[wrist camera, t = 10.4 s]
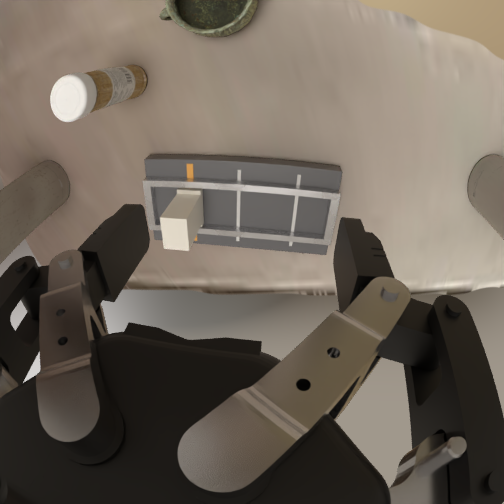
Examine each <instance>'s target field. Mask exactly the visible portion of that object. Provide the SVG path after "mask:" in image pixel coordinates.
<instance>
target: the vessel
mask: <svg viewBox="0 0 504 504" xmlns="http://www.w3.org/2000/svg"><path fill="white" fill-rule="evenodd" d="M257 3H258V0H166V8H165V9H163V10H162V12H161V14H160V16H159V17H160V18H161V19H162V20H173V21H174V22H175V23H176V24H178V25H180V26H181V27H183V28H184V29H186V30H188V31H191V32H194V33H196V34H199V35H203V36H207V37H221V36H228V35H230V34H232V33H234V32H236V31H239V30H241V29H242V28H243V27H244V26H245V25H246V24H247V23H248V22H249V21H250V20H251V18H252V16H253V14H254V12H255V10H256V9H257Z"/></svg>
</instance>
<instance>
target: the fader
mask: <svg viewBox="0 0 504 504" xmlns="http://www.w3.org/2000/svg"><path fill="white" fill-rule="evenodd" d="M160 223H161V230H162V238H163V244H164V249H174V250H184V251H190V248H191V246H192V244H193V242H194V240H195V238H196V235H197V233H198V231H199V229H200V227H202V226H203V224H204V213H203V189H200V188H178V189H177V194H176V196H175V197H174V198H173V200H172V201H171V203H170V204H169V205H168V207H167V208H166V210H165V211H164V212H163V214H162V215H161V217H160Z"/></svg>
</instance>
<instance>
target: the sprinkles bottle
mask: <svg viewBox="0 0 504 504" xmlns="http://www.w3.org/2000/svg"><path fill="white" fill-rule="evenodd" d="M146 84H147V77H146V74H145V72H144V71H143V69H141V68H140V67H138V66H135V65H129V66H126V67H114V68H107V69H100V70H96V71H92V72H87V73H81V72H78V73H73V74H69V75H65V76H63V77H61V78H60V79H59V80H58V81H57V82H56V83H55V85H54V87H53V89H52V92H51V97H50V102H51V108H52V110H53V112H54V114H55V116H56V117H57V118H58V119H60V120H62V121H64V122H72V121H75V120H78V119H80V118H83V117H85V116H86V115H88V114H89V113H91V112H93V111H95V110H99V109H102V108H105V107H108V106H110V105H113V104H116V103H119V102H122V101H125V100H127V99H132V98H135V97H138V96H139V95H140V94H142V92H143V91H144V89H145V87H146Z"/></svg>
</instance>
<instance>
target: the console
mask: <svg viewBox="0 0 504 504" xmlns="http://www.w3.org/2000/svg"><path fill="white" fill-rule="evenodd" d="M144 160H145V170H146V178H145V179H144V180H143V189H144V196H145V204H146V211H147V217H148V224H149V230H153V231H154V238H155V240H163V238H162V230H161V223H160V217H161V215H162V214H163V212H164V211H165V210H166V208H167V207H168V205H169V204H170V203H171V201H172V200H173V198H174V197H175V196H176V194H177V189H178V188H200V189H203V213H204V224H203V226H202V227H200V229H199V231H198V233H197V235H196V238H195V240H194V242H193V243H199V244H210V245H221V246H232V247H243V248H255V249H266V250H277V251H288V252H299V253H309V254H320V255H326V253H327V248H328V245H330V244H331V240H332V235H333V230H334V226H335V221H336V216H337V211H338V206H339V200H340V195H341V194H340V191H339V188H340V182H341V176H342V170H341V168H340V166H334V165H326V164H318V163H309V162H300V161H290V160H279V159H267V158H254V157H238V156H217V155H177V154H153V155H149V156H148V157H147V158H146V159H144Z"/></svg>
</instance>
